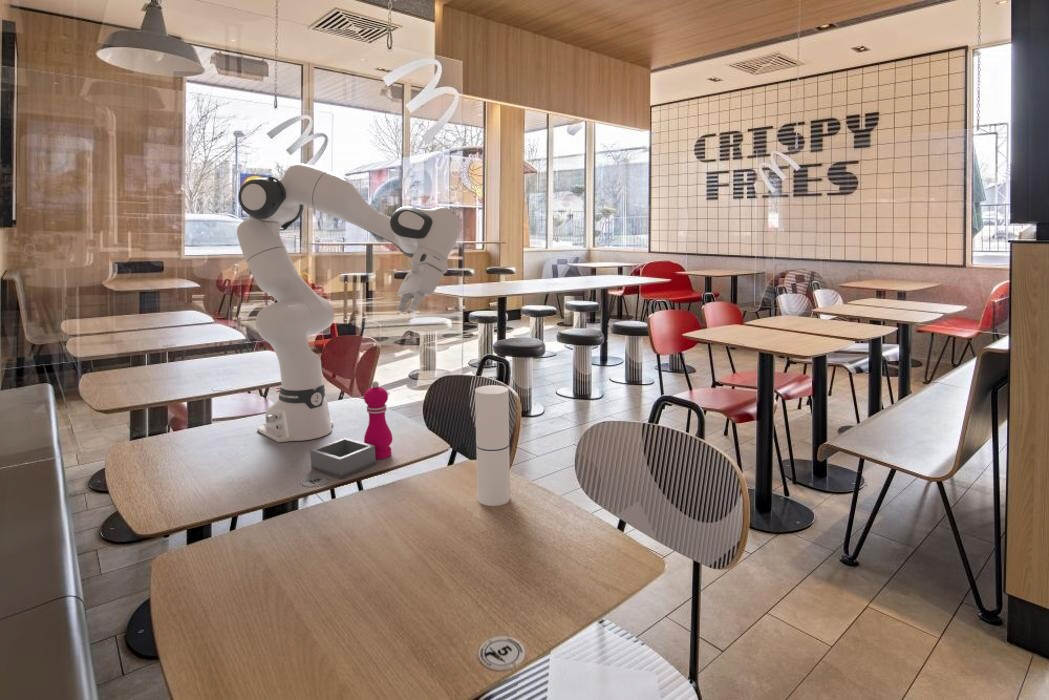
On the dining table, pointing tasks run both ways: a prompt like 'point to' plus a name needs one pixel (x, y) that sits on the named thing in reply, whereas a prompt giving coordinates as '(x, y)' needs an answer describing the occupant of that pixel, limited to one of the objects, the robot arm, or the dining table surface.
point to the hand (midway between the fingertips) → (405, 311)
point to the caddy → (342, 458)
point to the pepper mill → (377, 421)
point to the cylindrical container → (492, 444)
